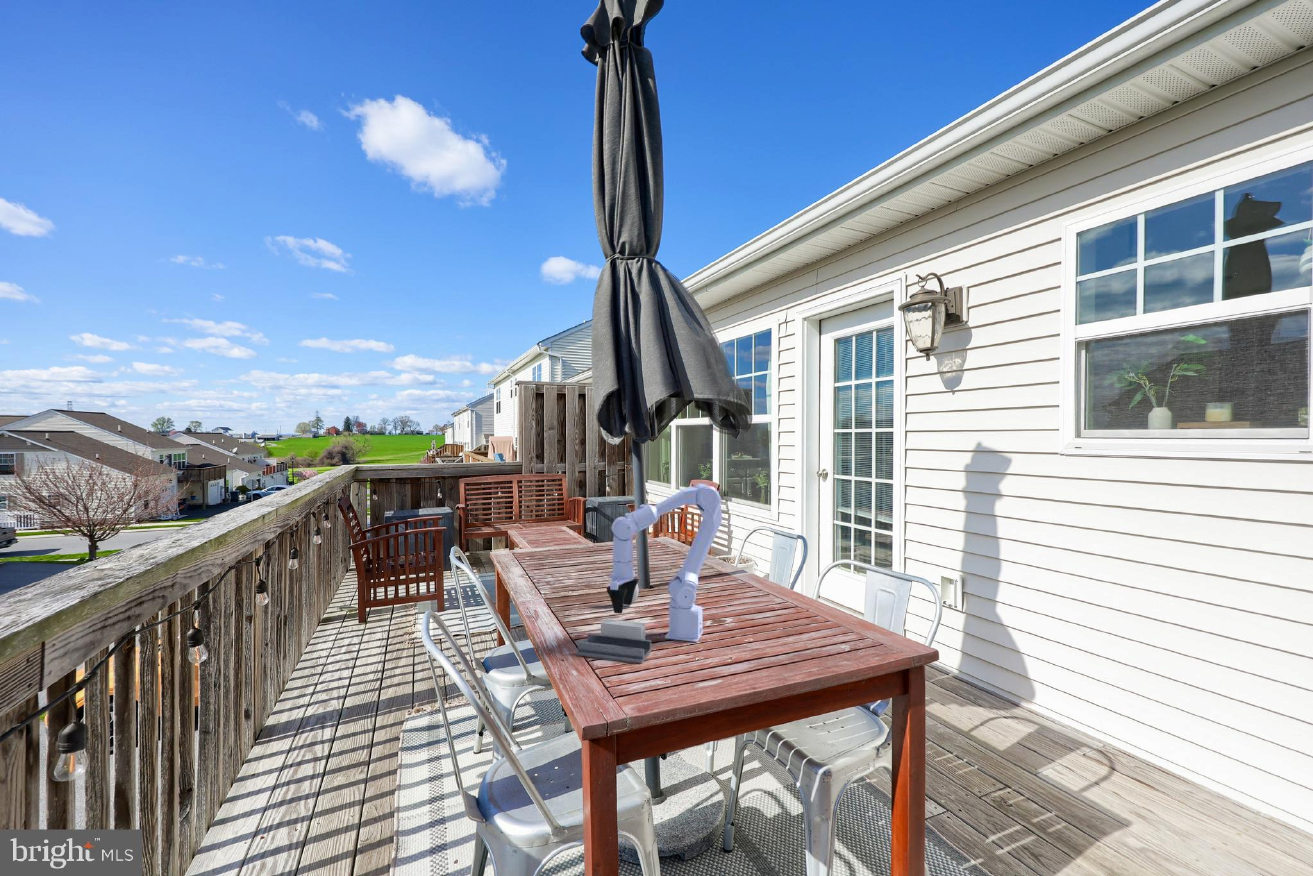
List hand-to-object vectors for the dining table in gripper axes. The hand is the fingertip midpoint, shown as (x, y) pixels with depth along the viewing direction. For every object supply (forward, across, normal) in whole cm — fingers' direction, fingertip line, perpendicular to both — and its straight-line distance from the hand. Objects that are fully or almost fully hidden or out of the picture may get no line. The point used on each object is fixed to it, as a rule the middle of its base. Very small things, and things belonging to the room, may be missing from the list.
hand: (622, 608), depth 152 cm
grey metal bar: (+9, 0, 0) cm, 9 cm away
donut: (+9, -28, -10) cm, 31 cm away
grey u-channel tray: (+9, +9, +1) cm, 13 cm away
